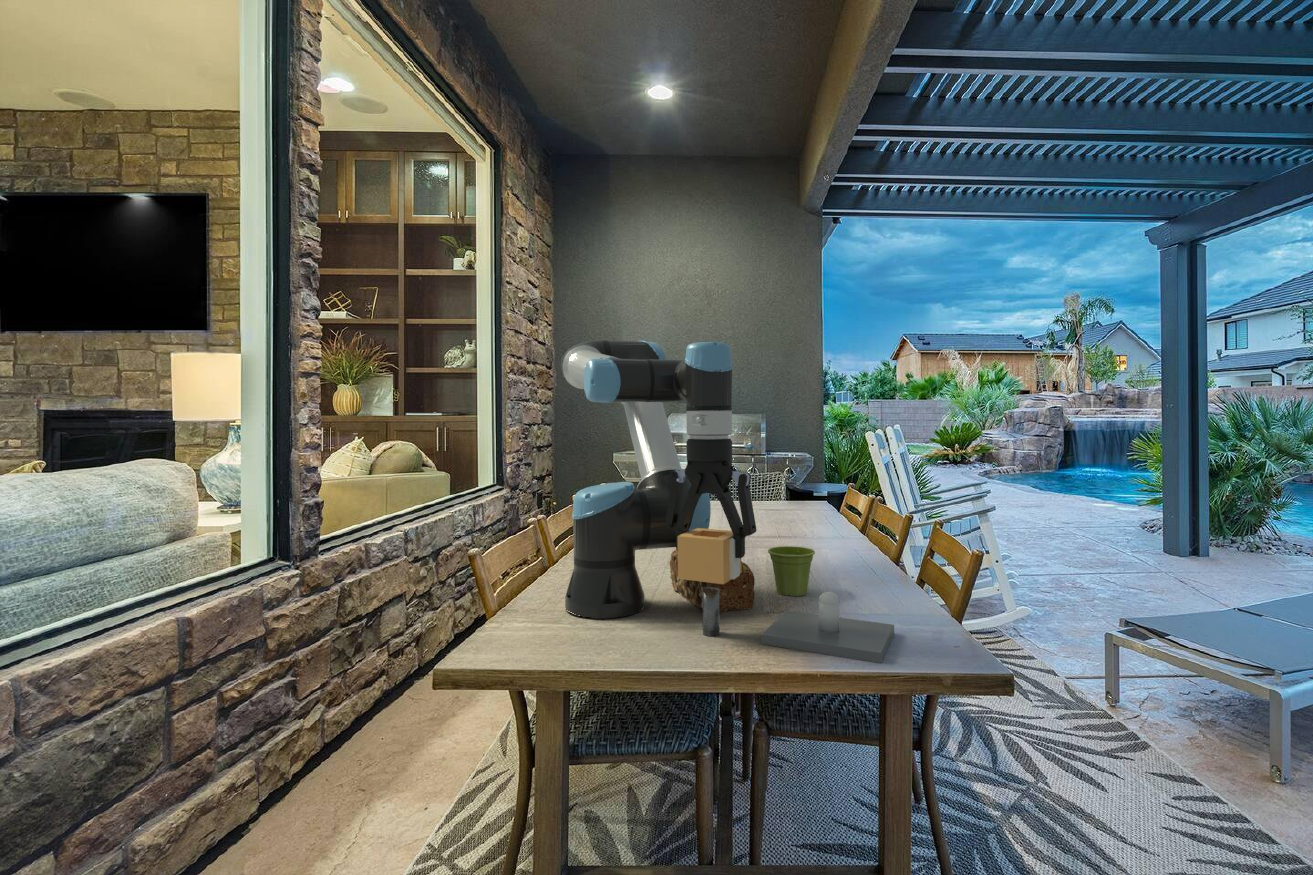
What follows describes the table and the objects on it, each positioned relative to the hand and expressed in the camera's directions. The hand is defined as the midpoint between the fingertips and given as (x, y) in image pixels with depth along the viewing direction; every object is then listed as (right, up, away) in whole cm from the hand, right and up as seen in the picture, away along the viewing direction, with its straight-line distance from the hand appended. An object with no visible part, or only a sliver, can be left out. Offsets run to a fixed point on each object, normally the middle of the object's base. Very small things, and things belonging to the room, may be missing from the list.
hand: (709, 573), depth 106 cm
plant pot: (+19, -9, +24) cm, 32 cm away
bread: (+2, -10, +20) cm, 23 cm away
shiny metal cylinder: (0, -10, 0) cm, 10 cm away
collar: (0, 0, 0) cm, 0 cm away
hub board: (+19, -10, -3) cm, 22 cm away
